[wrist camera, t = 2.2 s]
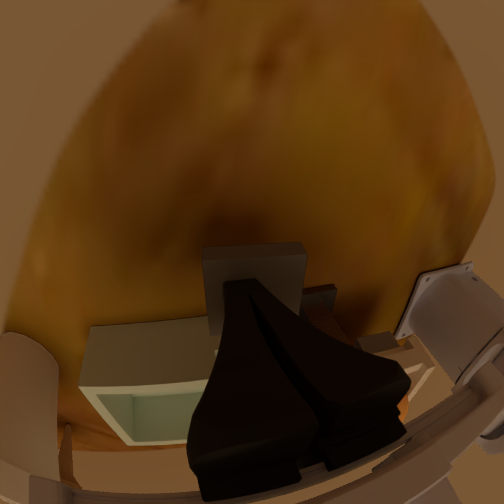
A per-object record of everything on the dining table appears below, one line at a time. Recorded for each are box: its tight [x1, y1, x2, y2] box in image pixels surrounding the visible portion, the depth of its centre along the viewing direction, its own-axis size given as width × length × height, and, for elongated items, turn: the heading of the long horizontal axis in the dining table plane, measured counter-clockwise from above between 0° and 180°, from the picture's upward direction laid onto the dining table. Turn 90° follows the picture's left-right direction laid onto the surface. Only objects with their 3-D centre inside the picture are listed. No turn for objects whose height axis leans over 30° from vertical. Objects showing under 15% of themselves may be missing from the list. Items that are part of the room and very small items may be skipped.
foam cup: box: [0, 332, 60, 504], centre depth 11 cm, size 10×9×13 cm
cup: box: [78, 316, 222, 445], centre depth 17 cm, size 9×9×5 cm
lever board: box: [202, 242, 435, 401], centre depth 15 cm, size 14×15×5 cm
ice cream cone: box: [58, 424, 82, 489], centre depth 16 cm, size 6×6×15 cm
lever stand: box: [299, 284, 353, 347], centre depth 19 cm, size 4×11×6 cm, turn 179°
